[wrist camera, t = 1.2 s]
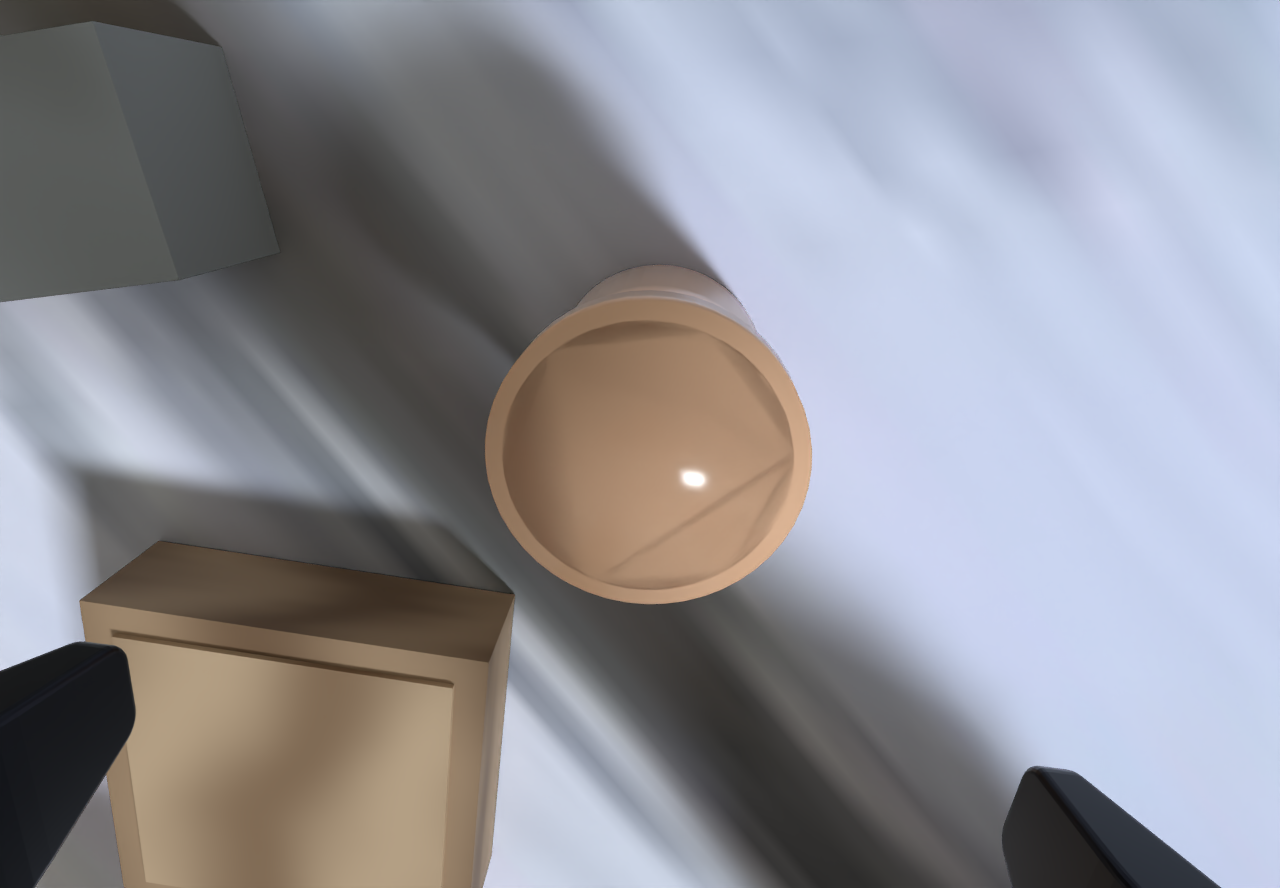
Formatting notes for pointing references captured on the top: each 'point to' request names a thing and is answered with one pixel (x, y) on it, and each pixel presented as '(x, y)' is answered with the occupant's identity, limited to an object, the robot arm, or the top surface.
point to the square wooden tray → (302, 723)
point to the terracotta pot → (649, 441)
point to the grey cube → (121, 162)
